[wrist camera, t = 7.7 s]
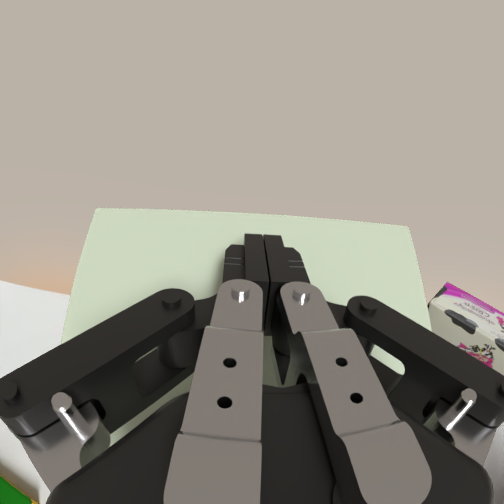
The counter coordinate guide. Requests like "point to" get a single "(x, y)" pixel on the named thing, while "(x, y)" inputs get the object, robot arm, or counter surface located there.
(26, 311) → the counter surface
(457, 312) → the candy bar box
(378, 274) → the lid
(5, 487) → the dish sponge
